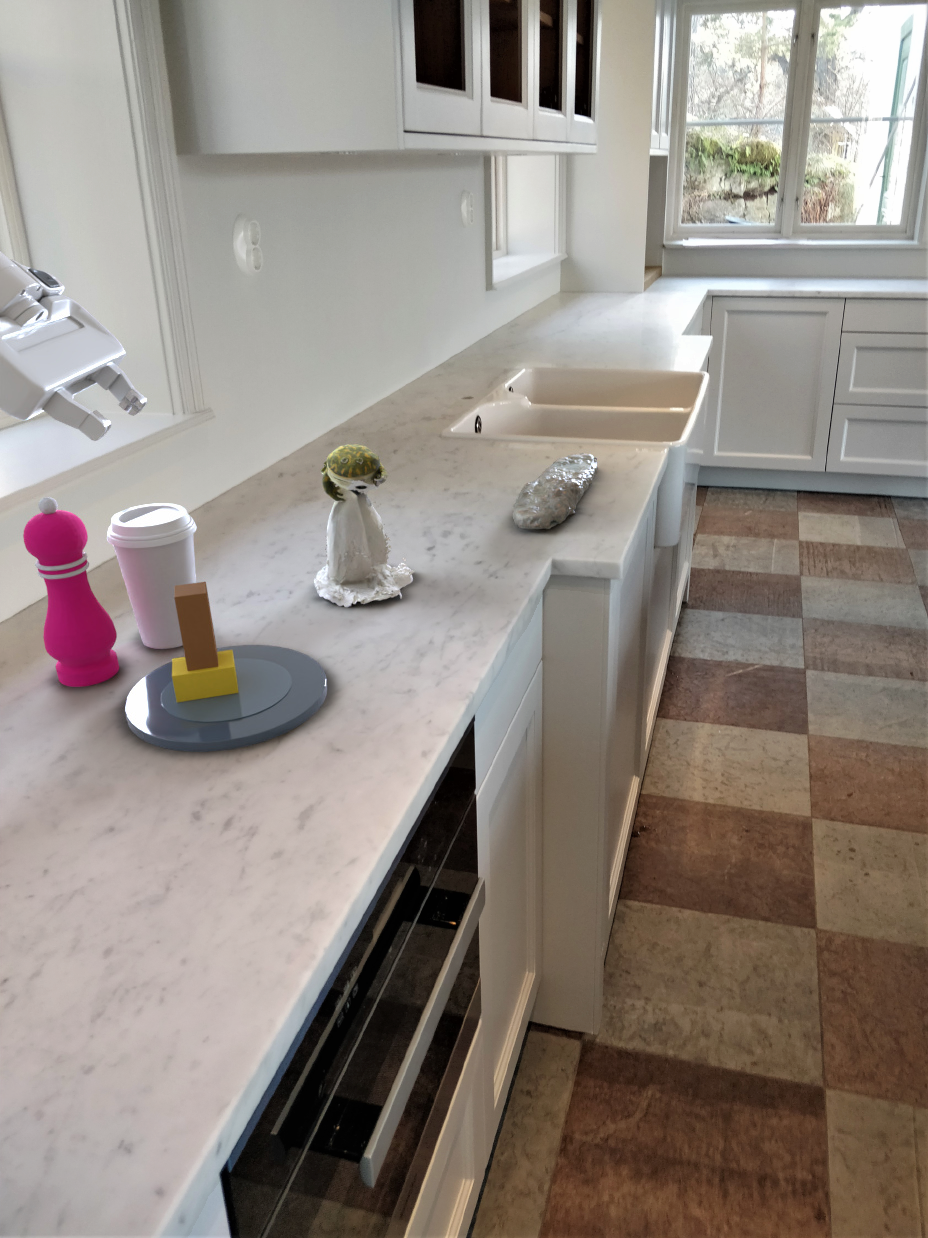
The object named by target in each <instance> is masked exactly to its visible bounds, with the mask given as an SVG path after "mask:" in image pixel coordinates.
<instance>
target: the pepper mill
mask: <svg viewBox="0 0 928 1238" xmlns="http://www.w3.org/2000/svg"><path fill="white" fill-rule="evenodd" d="M58 507H59V504H58V502H57V500H56V499H55V498H53V497H51V496H44V497H42V498H41V499H40V500H39V502H38V509H39V511H40V513H38V514H35V515H33V516H32V517H31V518H30V519H29V520H28V521H27V522H26V524H25V526H24V528H23V534H22V536H23V544H24V547H25V549H26V551H27V552H28V553H29V554H30V555H31V556H32V557H34V558H35V559H37V560H36V561H35V565H34V566H35V568H37V575H38V576H39V577H40V578H42V579H43V581H44V583H45V587H46V592H47V593H46V594H47V609H46V616H45V620H44V625H43V635H42V636H43V637H42V638H43V643H44V649H45V651H46V653H47V654H48V656H50V657H51V658H52V659H54V660H56V661H57V662H56V664H55V671H56V675H57V679H58V681H59V683H60V684H61V685H63V686H66V687H73V688H82V687H90V686H95V685H98V684H101V683H103V682H106V681H108V680H110V679H111V678H113V677H114V676H115V675H117V674H118V672H119V670H120V664H119V658H118V655H117V652H116V651H115V650H114V649H113V647H114V646H115V644H116V641H117V637H118V634H117V633H118V632H117V629H116V627H115V624H114V621H113V619H112V618H111V616H110V614H109V613H108V612H107V611H106V609H105V608H104V607H103V606H102V604H101V603H100V602H99V600H98V599H97V597H96V595H95V593H94V592H93V590H92V588H91V585H90V582H89V579H88V572H87V570H88V568H89V567H90V562H89V561H88V554H87V553H86V552H85V551H84V549H85V547H86V546H87V543H88V539H89V538H88V536H89V535H88V530H87V528H86V525H85V523H84V522H83V520H82V519H81V518H80V517H79V516H78V515H76V514H75V513H73V512H71V511H68V510H63V509H58Z"/></svg>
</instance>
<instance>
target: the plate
mask: <svg viewBox="0 0 928 1238" xmlns="http://www.w3.org/2000/svg"><path fill="white" fill-rule="evenodd" d="M226 650H233V656H234V663H235V669H236V676H237V684H238V693H234V694H228V695H222V696H215V697H209V698H203V699H196V700H190V701H184V702H177V701H176V695H175V690H174V685H173V679H172V661H169V662H168V663H165V664H163V665H161V666H159V667H157V668H156V669H154V670H152V671H151V672H149V673H148V674H146V675H145V676H144V677H143V678H141V679H139V681H138V682H137V683H136V684H135V685H134V686H133V687H132V688H131V690H130V691H129V693H128V695H127V697H126V699H125V703H124V714H125V719H126V721H127V726H128V727H129V729H130V730H131V732H132V733H133V734H134V735H135V736H137V738H139V739H141V740H142V741H144V742H146V743H147V744H151V745H153V746H155V747H159V748H162V749H166V750H171V751H178V752H188V753H189V752H191V753H202V752H203V753H208V752H220V751H229V750H235V749H239V748H244V747H245V748H246V747H249V746H253V745H257V744H260V743H265V742H267V741H269V740H272V739H275V738H277V737H279V736H281V735H284V734H286V733H288V732H290V731H292V730H294V729H296V728H297V727H299V726H301V725H302V724H303V723H305V722H307V721H308V720H309V719H310V718H311V717H312V716H314V715H315V714H316V712H317V711H318V710H319V709H320V708H321V707H322V706H323V704H324V702H325V700H326V697H327V695H328V681H327V680H328V679H327V675H326V672H325V670H324V668H323V667H322V665H321V664H320V663H319V662H318V661H317V660H315V659H314V658H313V657H311V656H310V655H307V654H306V653H303V652H301V651H300V650H295V649H292V648H289V647H288V648H287V647H282V646H277V645H269V644H267V645H266V644H241V645H239V644H238V645H229V646H222V647H217V652H219V651H226Z"/></svg>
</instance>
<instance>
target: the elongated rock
mask: <svg viewBox="0 0 928 1238" xmlns="http://www.w3.org/2000/svg"><path fill="white" fill-rule="evenodd" d="M598 470H599V467H598V457H596V456H594V455H593V454H591V453H584V452H582V453H579V454H577V453H574V454H573V453H572V454H570V455H569V454H568V455H566V456H563V457H559V458H557V459H555V460H554V461H553V462H552V464H551V465H550V466H548V467H547V468H545V470H544V471H542V473H541V474H540V475H539V476H538V477H537V478H536V479H534V480H532V481H530V482H526V483H525V484H524V485H523V487H522V488H521V490H520V491H519V493H518V497H517V498H516V499H515V502H514V504H513V510H512V515H511V516H512V520H513V522H514V524H515V525H516V526H517V527H518V528H519V529H522V530H524V529H526V530H542V529H546V530H550V529H551V528H553V527H556V526H557V525H558V524H562V523H563V522H564V521H565V520H566V519H567V518H568V516H571V515H575V514H576V512H575V510H576V509H577V505H578V503H580V501H581V499H582V497H583V496H584V494H585V492H586V491H587V490H589V487H590V485H593V481H594V479H595V477H596V475H597V473H598Z"/></svg>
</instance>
